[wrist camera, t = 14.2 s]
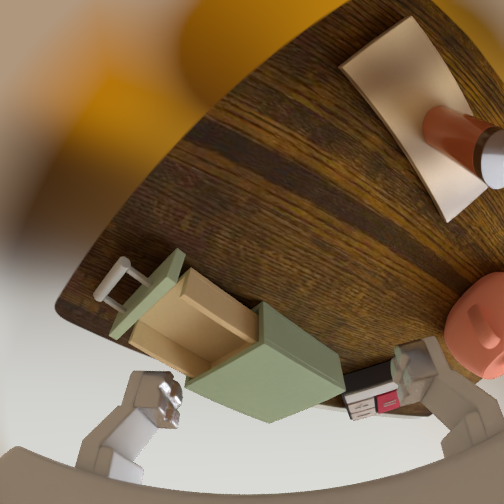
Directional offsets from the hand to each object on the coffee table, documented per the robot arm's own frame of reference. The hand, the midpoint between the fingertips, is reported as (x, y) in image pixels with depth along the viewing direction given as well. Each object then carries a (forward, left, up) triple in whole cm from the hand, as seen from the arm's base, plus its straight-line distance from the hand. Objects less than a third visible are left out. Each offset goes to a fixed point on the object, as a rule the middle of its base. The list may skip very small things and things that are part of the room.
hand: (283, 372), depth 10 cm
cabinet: (+20, -19, -21) cm, 34 cm away
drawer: (+5, -19, -20) cm, 28 cm away
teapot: (+40, +12, -21) cm, 47 cm away
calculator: (+42, -13, -21) cm, 49 cm away
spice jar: (+7, +16, -19) cm, 26 cm away
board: (+7, +16, -21) cm, 27 cm away
